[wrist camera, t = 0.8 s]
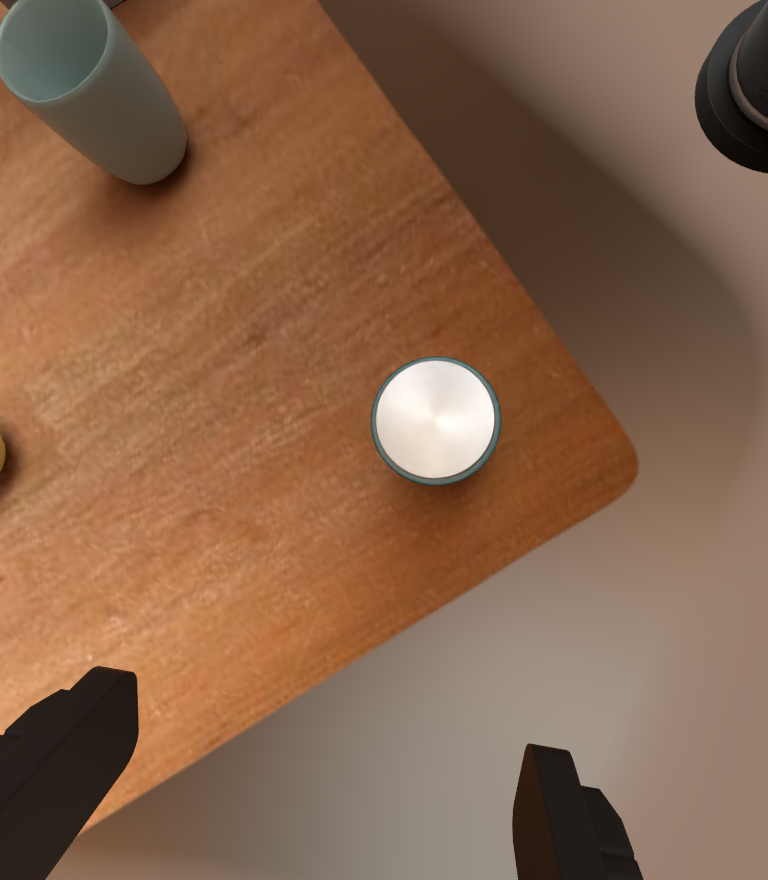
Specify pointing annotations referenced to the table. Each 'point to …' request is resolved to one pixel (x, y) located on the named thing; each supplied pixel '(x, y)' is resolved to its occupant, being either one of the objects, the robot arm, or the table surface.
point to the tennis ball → (2, 452)
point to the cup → (92, 86)
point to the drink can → (436, 421)
